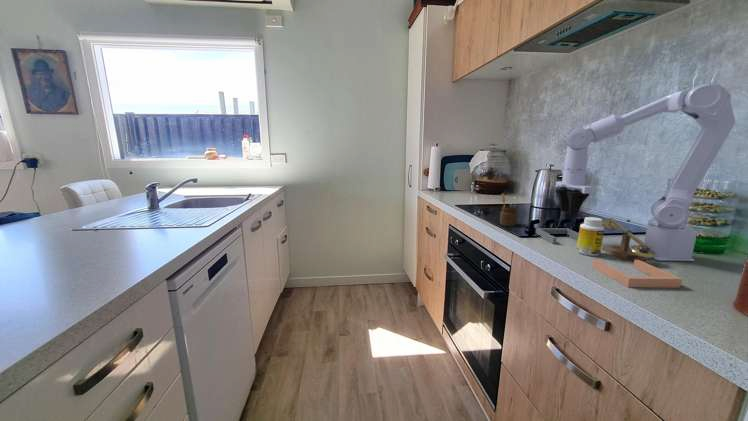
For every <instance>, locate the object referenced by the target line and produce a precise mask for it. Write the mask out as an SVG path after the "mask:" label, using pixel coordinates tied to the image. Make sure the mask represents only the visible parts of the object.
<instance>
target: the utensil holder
mask: <svg viewBox="0 0 748 421" xmlns="http://www.w3.org/2000/svg"><path fill="white" fill-rule="evenodd" d="M501 201H502V202H503V206H502V207H501V211H500V214H499V224H500V225H502V226H505V227H514V226H516V225H517V218H518V217H517V215H518V214H517V207H516V206H517V203H518V201H517V200H515V198H511V200H510V203H512V202H513V205H505V204H506V198H505V193H504V192H503V193H501Z"/></svg>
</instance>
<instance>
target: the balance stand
mask: <svg viewBox="0 0 748 421" xmlns="http://www.w3.org/2000/svg"><path fill="white" fill-rule="evenodd" d="M630 242H631V237H629V236H628V235H627V234H622V237H621V244H620V245H602V246H601V251H604V252H606V253H608V254H610V255H613V256H615V257H616V258H618V259H621V260H622V261H627V260H628V261H634V260H640V261H647V260H648V258H643V257H640V256H637V255H635V254H634V253H632V252H631V250H630V248H631V247H630Z"/></svg>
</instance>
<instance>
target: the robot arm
mask: <svg viewBox="0 0 748 421" xmlns="http://www.w3.org/2000/svg"><path fill="white" fill-rule="evenodd" d="M731 99H732V96H731V92H730V93H729V91H728V90H726V88H725V87H723V86H722V85H721V84H719V83H714V82H706V83H705V82H704V83H701V84H698V85H696V86H694V87H692V89H690V88H687V89H683V90H681V91H678V92H674V93H672V94H668V95H665V96H663V97H661V98H660V99H657V100H655V101H653V102H650V103H648V104H645V105H643V106H641V107H638V108H637V109H634V110H632V111H630V112H628V113H625V114H622V115H616V114H610V115H609V114H605V115H603V116H602V117H601V119H599V120H597V121H594V122H592V123H589V124H587V123H586V124H584V125H582V128H581V127H579V128H578V127H577V128H575V129H573V130H572V131H571V132H570V133H569V134H568V135H567V137H566V143H567V145H568V146H567V148H566V150H565V151H566V154H565V156H564V157H565V158H564V165H563V173H562V180H559V181H558V180H557V181H555V188H556V189H555V193H556V194H557V199H558V201H559V206H560V207H559V208H560V209H559V210H560V212H568V215H570V216H571V215H574V216H575V215H579V214H578V213H579V212H580V209H581V207H582V205H583V204H584V202H585V201H586V199H587V198H588V197H590V194H592V191H593V190H592V189H593V187H592V186H589V185H586V184H585V179H586V172H587V166H588V159H589V154H588V152H589V145H590V144H591V143H594V144H596V143H599V142H601V141H604V140H607V139H609V138H612V137H614V136H618V135H620V134H622V132H623V131H624V130H625V128H626V127H627V126H630V125H633V124H635V123H637V122H640V121H644V120H646V119H649V118H651V117H654V116H656V115H659V114H662V113H673V114H674V113H678V112H680V111H681V112H682V113H684V114H686V115H687V116H688V117H691V118H692V119H694V121H695V122H696V123H697V125H698V126H699V127H700V131H699V133H698V134H697V136H696V138H695V140H694V141H693V143H692V146H691V147H690V149H689V151H688V153H687V154H686V156H685V157H684V160H683V161H682V163H681V165H680V167H679V168H678V170H677V172H676V174H675V175H674V178H673V180H672V181H671V183H670V185H669V186H668V188H667V189H666V190H665V191H664V193H662V195H661V197H660V198H659V199H657V200H656V201H654V203H653V204H652V205H651V207H650V214H652V216H653V217H652V218H651V219H649V220H648V222H647V226H646V231H645V237H644V241H643V243H644V244H646V245H647V246H648V247H649V248H650V249H651V250H652V251H654V252H655V257H654V258H652V259H654V260H655V261H661V262H662V261H663V262H664V261H665V262H694V261H695V258H692V257H693V252H694V250H695V244H696V240H697V233H696V232H695V230H694V229H693V228H692V227H691V226H688V225H687V224H685V223H686V222H688V220H689V218H690V207H691V205H692V203H693V198H694V194H695V192H696V190H697V189H698V187H699V186H700V184H701V182H702V181H703V179H704V177H705V175H706V174H707V172H708V171H709V169H710V167H711V166H712V164H713V162H714V160H715V158H716V157H717V156H718V153H719V152H720V150H721V149H722V147H723V145H724V143H725V142H726V140H727V138H728V136H729V135H730V133H731V131H732V130H733V128H734V127H735V125H736V117H735V113H734V110H733V106H732V102H731V101H732V100H731ZM558 188H559V189H558Z"/></svg>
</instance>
